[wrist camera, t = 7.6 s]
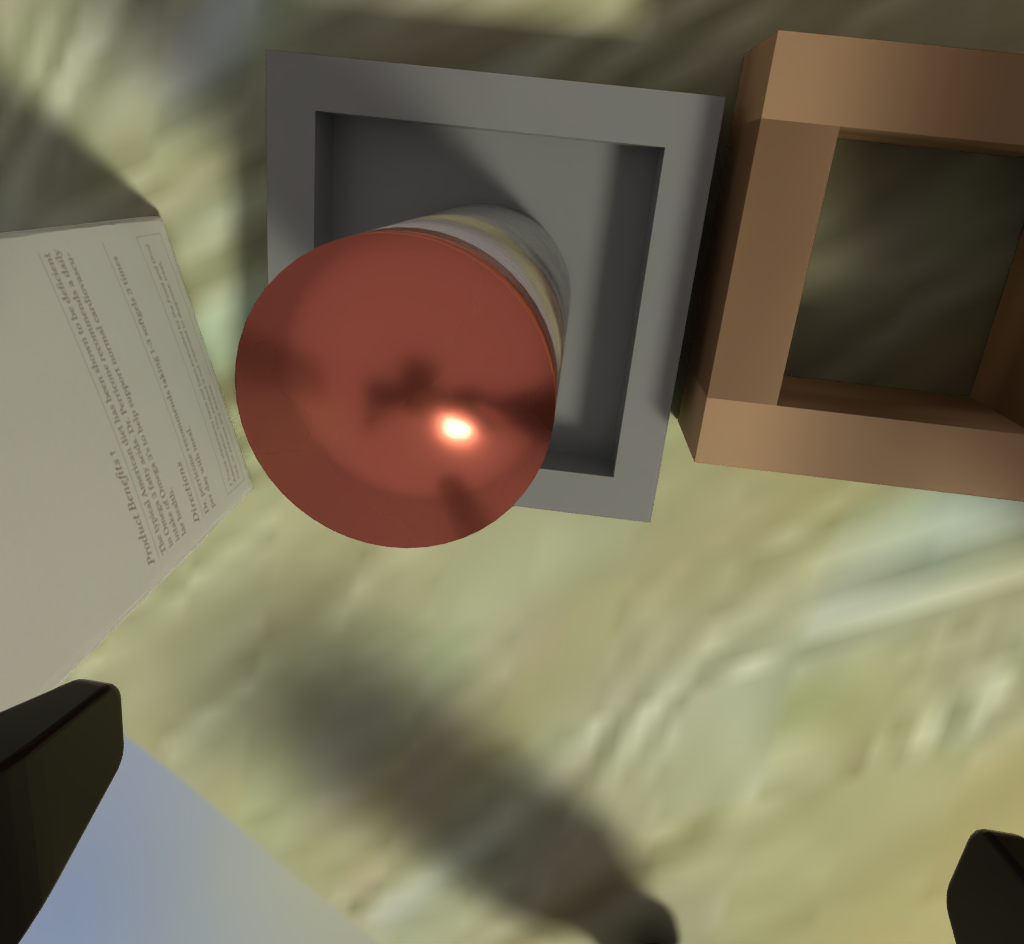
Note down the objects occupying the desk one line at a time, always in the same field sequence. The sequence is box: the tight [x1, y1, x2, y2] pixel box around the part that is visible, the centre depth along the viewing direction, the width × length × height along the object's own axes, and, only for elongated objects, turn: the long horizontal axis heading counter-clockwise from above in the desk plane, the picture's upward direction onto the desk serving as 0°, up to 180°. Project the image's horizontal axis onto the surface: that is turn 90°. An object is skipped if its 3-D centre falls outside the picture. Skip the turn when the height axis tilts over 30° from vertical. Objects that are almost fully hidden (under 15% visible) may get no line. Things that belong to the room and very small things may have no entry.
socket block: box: [678, 30, 1024, 502], centre depth 16 cm, size 8×8×3 cm
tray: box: [266, 50, 726, 522], centre depth 18 cm, size 9×9×2 cm
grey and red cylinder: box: [235, 203, 571, 548], centre depth 14 cm, size 4×4×9 cm
